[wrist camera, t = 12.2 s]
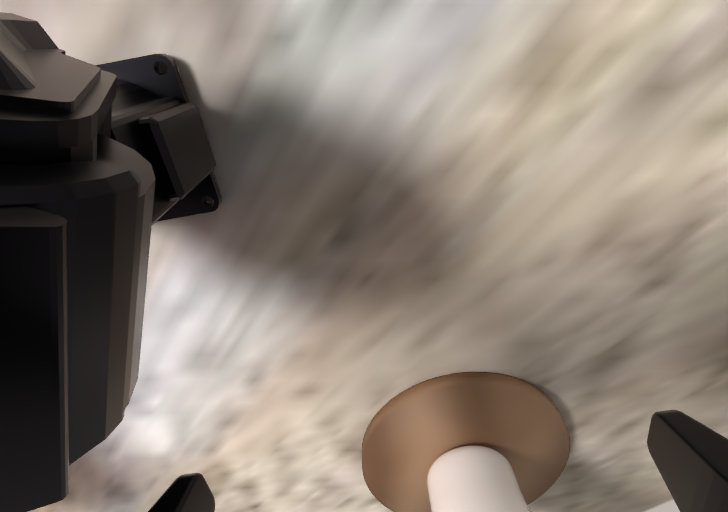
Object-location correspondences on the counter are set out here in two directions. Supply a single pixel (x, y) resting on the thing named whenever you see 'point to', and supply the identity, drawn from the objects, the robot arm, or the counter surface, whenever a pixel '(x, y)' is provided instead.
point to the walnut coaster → (462, 435)
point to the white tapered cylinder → (474, 482)
